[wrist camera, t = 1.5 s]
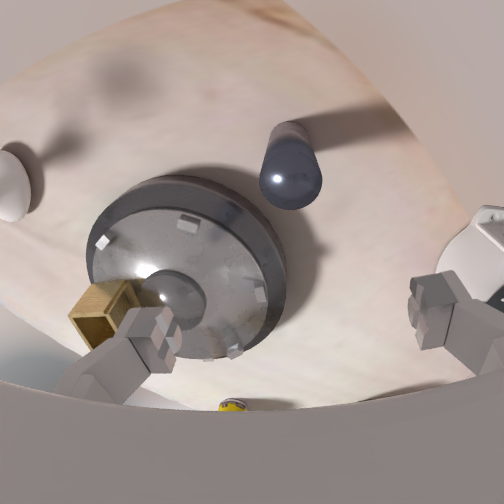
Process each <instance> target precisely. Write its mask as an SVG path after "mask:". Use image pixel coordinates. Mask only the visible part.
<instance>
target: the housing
mask: <svg viewBox="0 0 504 504" xmlns="http://www.w3.org/2000/svg"><path fill="white" fill-rule="evenodd" d="M155 206H172V207H180V208H185V209H189V210H193V211H197V212H199V213H202V214H204V215H207V216H209V217H211V218H213V219H215V220H217V221H219V222H221V223H222V224H224V225H225V226H227V227H228V228H230V229H231V230H232V231H234V232H235V233H236V234H237V235H238V236H239V237H240V238H242V239H243V241H244V242H245V243H246V244H247V245H248V246H249V247H250V248H251V250H252V251H253V253H254V254H255V256H256V257H257V258H258V260H259V262H260V264H261V266H262V268H263V271H264V274H265V277H266V280H267V286H268V307H267V313H266V318H265V320H264V323H263V326H262V327H261V329H260V331H259V332H258V334H257V335H256V336H255V337H254V338H253V340H251V341H250V342H249V343H248V344H247V345H246V346H244V350H243V352H244V351H246V350H249V349H251V348H252V347H254V346H255V345H257V344H259V343H260V342H261V341H262V340H263V339H265V338H266V337H267V336H268V335H269V334H270V332H271V331H272V330H273V329H274V327H275V326H276V324H277V323H278V321H279V319H280V316H281V314H282V312H283V308H284V303H285V295H286V263H285V256H284V253H283V249H282V245H281V243H280V241H279V239H278V237H277V234H276V233H275V231H274V229H273V228H272V226H271V225H270V223H269V222H268V220H267V219H266V218H265V217H264V216H263V214H262V213H261V212H260V211H259V210H258V209H257V208H256V207H255V206H254V205H252V204H251V203H250V202H249V201H248V200H246V199H245V198H244V197H242V196H241V195H239V194H238V193H236V192H235V191H233V190H231V189H229V188H227V187H225V186H223V185H221V184H218V183H215V182H213V181H210V180H206V179H202V178H198V177H192V176H182V175H174V176H163V177H157V178H153V179H150V180H147V181H144V182H141V183H139V184H137V185H135V186H134V187H132V188H130V189H129V190H127V191H126V192H125V193H124V194H122V195H121V196H120V197H119V198H117V199H116V200H115V201H114V202H113V203H112V204H110V205H109V206H108V207H107V208H106V209H105V210H104V211H103V212H102V214H101V215H100V216H99V217H98V219H97V220H96V222H95V223H94V225H93V227H92V230H91V232H90V235H89V238H88V243H87V249H86V263H87V270H88V275H89V279H90V282H91V284H95V283H94V278H93V259H94V255H95V251H96V248H97V246H96V243H97V242H98V241H99V239H100V238H101V237H102V236H103V234H104V233H105V232H106V231H107V230H109V229H110V228H111V227H112V226H113V225H114V224H115V223H116V222H117V221H119V220H120V219H121V218H123V217H124V216H126V215H128V214H130V213H132V212H134V211H137V210H140V209H143V208H149V207H155ZM224 357H227V356H226V355H225V356H221V357H216V358H210V359H202V360H203V362H204V361H214V359H218V358H224Z"/></svg>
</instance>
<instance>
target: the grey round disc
mask: <svg viewBox="0 0 504 504" xmlns="http://www.w3.org/2000/svg"><path fill="white" fill-rule="evenodd" d="M96 246H97V248H96V251H95V255H94V259H93V278H94V283H95V284H91V286H89V288H88V289H87V290H86V292H85V293H84V294H83V296H82V297H81V298H80V300H79V301H78V302H77V304H76V305H75V306H74V308H73V309H72V310H71V312H70V313H69V315H68V317H69V319H70V321H71V322H72V324H73V325H74V327H75V328H76V330H77V331H78V333H79V334H80V336H81V337H82V339H83V340H84V342H85V343H86V345H87V346H88V348H89V349H90V351H92V350H94V349H95V348H96V347H98V346H99V345H100V344H102V343H103V342H105V341H106V340H107V339H109V338H113V337H114V335H115V333H116V331H117V329H118V328H119V326H120V324H121V322H122V321H123V319H124V317H125V315H126V314H127V312H128V310H129V309H131V308H143V307H162V306H167V307H169V308H170V309H171V311H172V313H173V318H172V320H173V321H174V322H175V323H177V324H178V325H179V328H180V330H181V335H182V344H181V347H180V350H179V351H178V352H176V353H175V354H174V355H175V356H176V357H181V358H189V359H210V358H216V357H221V356H225V355H226V356H227V357H229V358H230V359H231V360H232V359H234V358H236V357H238V356H240V355H242V354H243V350H244V346H246V345H247V344H248V343H249V342H250V341H251V340H253V338H254V337H255V336H256V335H257V334H258V332H259V331H260V329H261V327H262V326H263V323H264V320H265V318H266V313H267V307H268V286H267V280H266V277H265V274H264V271H263V268H262V266H261V264H260V262H259V260H258V258H257V257H256V256H255V254H254V253H253V251H252V250H251V248H250V247H249V246H248V245H247V244H246V243H245V242H244V241H243V239H242V238H240V237H239V236H238V235H237V234H236V233H235V232H234V231H232V230H231V229H230V228H228V227H227V226H225V225H224V224H222V223H221V222H219V221H217V220H215V219H213V218H211V217H209V216H207V215H204V214H202V213H199V212H197V211H193V210H189V209H185V208H180V207H172V206H155V207H149V208H143V209H140V210H137V211H134V212H132V213H130V214H128V215H126V216H124V217H123V218H121V219H120V220H119V221H117V222H116V223H115V224H114V225H113V226H112V227H111V228H110V229H109V230H107V231H106V232H105V233H104V234H103V236H102V237H101V238H100V239H99V241H98V242H97V243H96Z"/></svg>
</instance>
